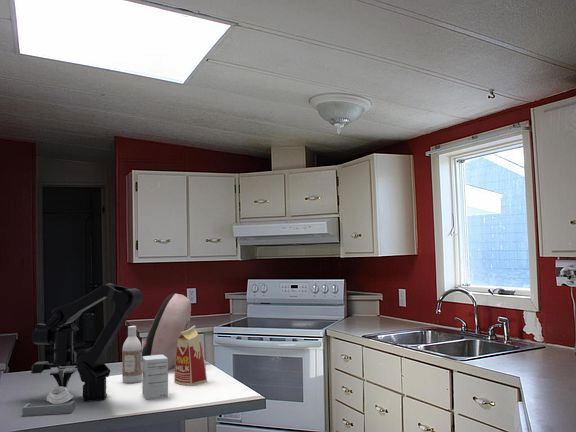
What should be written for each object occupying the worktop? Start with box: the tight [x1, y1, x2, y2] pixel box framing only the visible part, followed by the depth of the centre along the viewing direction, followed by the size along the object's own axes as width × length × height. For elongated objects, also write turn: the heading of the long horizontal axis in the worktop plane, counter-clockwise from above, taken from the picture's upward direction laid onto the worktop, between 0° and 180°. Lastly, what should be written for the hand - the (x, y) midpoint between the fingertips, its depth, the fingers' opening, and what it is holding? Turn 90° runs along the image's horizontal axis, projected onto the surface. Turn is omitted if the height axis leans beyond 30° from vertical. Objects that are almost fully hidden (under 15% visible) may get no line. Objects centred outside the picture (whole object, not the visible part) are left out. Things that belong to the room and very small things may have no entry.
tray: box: [21, 399, 76, 417], centre depth 163 cm, size 14×5×2 cm, turn 99°
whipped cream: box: [46, 385, 74, 405], centre depth 176 cm, size 8×7×5 cm
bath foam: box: [121, 325, 143, 384], centre depth 201 cm, size 7×7×20 cm
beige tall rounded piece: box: [142, 293, 192, 370], centre depth 225 cm, size 22×20×30 cm
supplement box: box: [141, 355, 169, 400], centre depth 180 cm, size 7×7×13 cm
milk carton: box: [173, 325, 208, 386], centre depth 198 cm, size 9×9×20 cm
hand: (63, 392), depth 180 cm, fingers closed
